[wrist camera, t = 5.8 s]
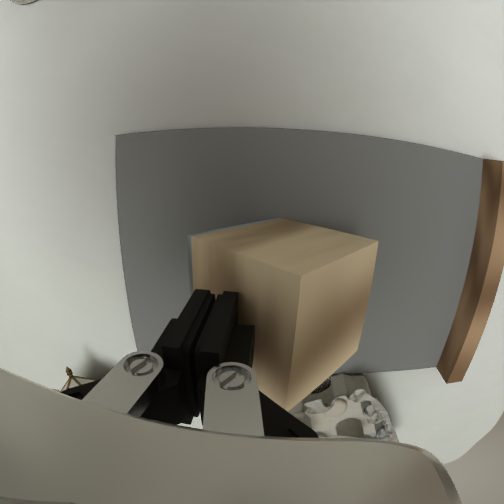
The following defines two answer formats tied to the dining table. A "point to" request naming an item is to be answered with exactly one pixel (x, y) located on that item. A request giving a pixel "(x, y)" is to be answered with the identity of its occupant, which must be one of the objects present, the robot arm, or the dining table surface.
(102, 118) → the dining table surface
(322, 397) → the carved stone fragment
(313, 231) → the block
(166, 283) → the grey rectangular board
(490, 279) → the rail
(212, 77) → the dining table surface
